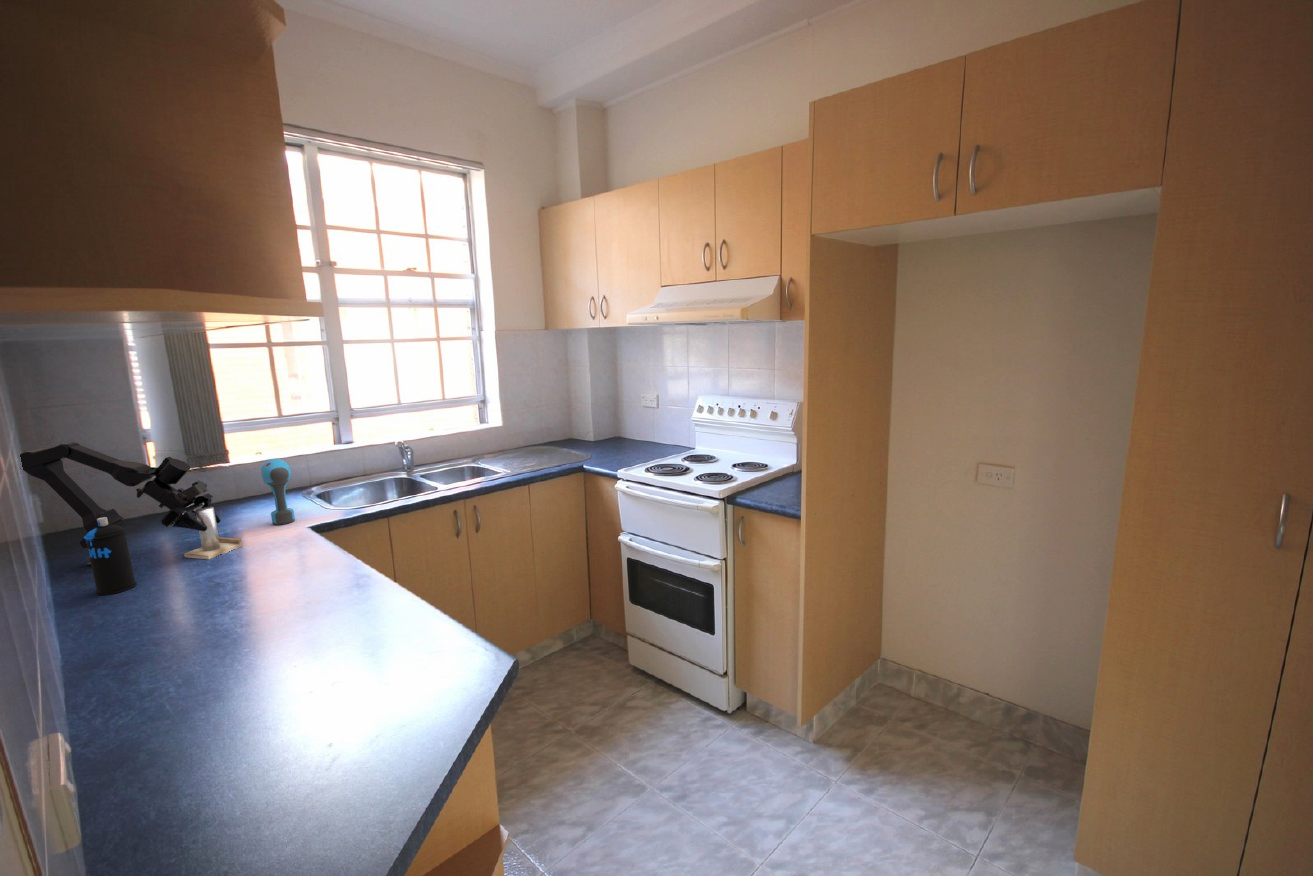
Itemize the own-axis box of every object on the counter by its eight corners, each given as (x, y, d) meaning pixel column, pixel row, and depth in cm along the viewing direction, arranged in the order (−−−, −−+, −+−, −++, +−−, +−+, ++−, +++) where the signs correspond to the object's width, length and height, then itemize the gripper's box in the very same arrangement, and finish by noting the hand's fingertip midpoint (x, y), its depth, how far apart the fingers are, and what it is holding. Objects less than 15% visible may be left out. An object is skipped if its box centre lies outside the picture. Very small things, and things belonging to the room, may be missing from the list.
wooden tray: (208, 559, 177) (207, 551, 177) (184, 557, 180) (183, 549, 180) (242, 546, 188) (241, 538, 187) (219, 544, 190) (217, 537, 190)
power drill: (262, 514, 223) (253, 455, 219) (288, 509, 229) (280, 451, 225) (273, 531, 202) (263, 466, 198) (302, 525, 208) (292, 461, 204)
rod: (207, 552, 180) (200, 511, 178) (199, 550, 182) (192, 510, 180) (223, 547, 184) (216, 507, 182) (215, 545, 186) (209, 506, 184)
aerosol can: (124, 581, 163) (110, 512, 159) (144, 584, 160) (130, 514, 157) (88, 593, 155) (72, 522, 151) (109, 597, 152) (93, 524, 149)
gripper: (165, 482, 169) (214, 515, 173) (201, 468, 187) (244, 498, 191) (139, 511, 169) (189, 543, 173) (177, 494, 187) (222, 524, 191)
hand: (213, 526), depth 182 cm, fingers open, 8 cm apart
